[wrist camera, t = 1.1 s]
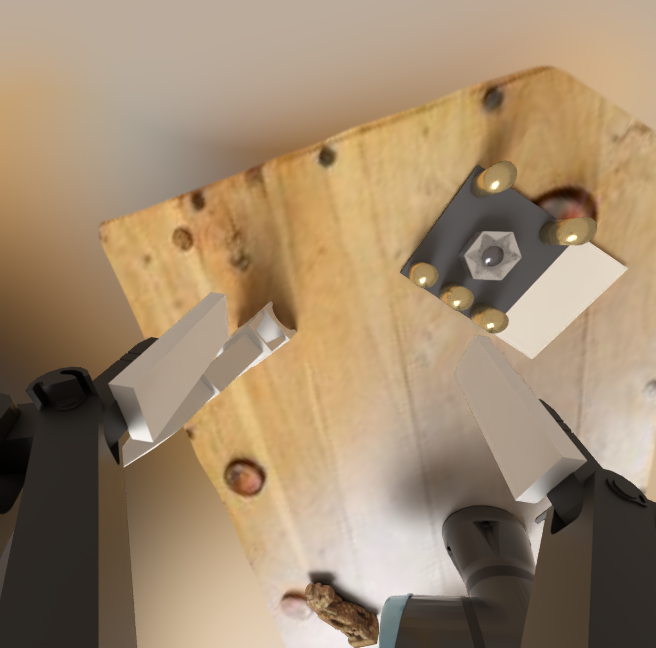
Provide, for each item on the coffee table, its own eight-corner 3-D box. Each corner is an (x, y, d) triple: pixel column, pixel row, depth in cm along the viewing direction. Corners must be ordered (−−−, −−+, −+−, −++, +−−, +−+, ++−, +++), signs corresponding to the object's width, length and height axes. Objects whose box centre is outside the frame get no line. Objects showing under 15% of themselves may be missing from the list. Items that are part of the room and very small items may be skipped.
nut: (516, 232, 34) (528, 232, 32) (505, 278, 36) (515, 281, 34) (461, 231, 35) (469, 230, 33) (453, 275, 37) (460, 278, 35)
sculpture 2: (354, 621, 67) (353, 651, 62) (304, 578, 65) (299, 606, 60) (379, 613, 65) (379, 644, 60) (328, 568, 62) (325, 597, 57)
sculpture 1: (237, 328, 45) (23, 474, 17) (270, 300, 43) (85, 417, 15) (263, 357, 46) (102, 540, 18) (297, 332, 44) (171, 497, 16)
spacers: (569, 228, 33) (603, 226, 29) (481, 325, 39) (496, 337, 34) (481, 167, 33) (500, 155, 28) (403, 274, 38) (408, 279, 33)
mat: (623, 268, 34) (628, 268, 34) (529, 357, 40) (532, 359, 39) (476, 166, 33) (478, 165, 33) (400, 272, 39) (400, 273, 38)
